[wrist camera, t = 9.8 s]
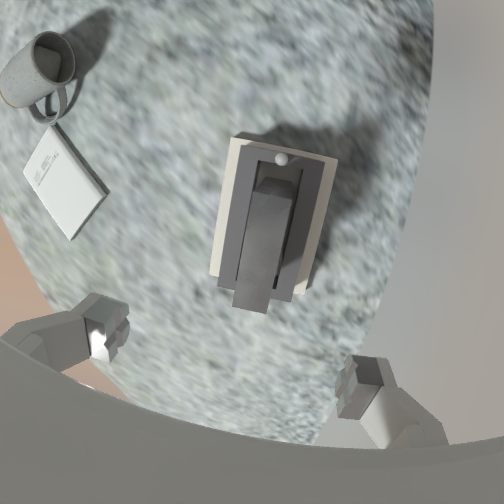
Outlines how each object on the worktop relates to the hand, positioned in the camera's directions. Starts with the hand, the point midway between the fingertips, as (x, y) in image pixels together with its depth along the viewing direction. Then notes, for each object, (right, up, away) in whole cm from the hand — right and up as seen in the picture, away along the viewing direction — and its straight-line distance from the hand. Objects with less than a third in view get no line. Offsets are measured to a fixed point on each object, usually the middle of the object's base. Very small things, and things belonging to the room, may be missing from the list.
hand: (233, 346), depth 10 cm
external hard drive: (-23, +12, +22) cm, 34 cm away
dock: (+2, +7, +19) cm, 21 cm away
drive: (+2, +6, +18) cm, 20 cm away
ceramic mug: (-24, +24, +17) cm, 38 cm away
